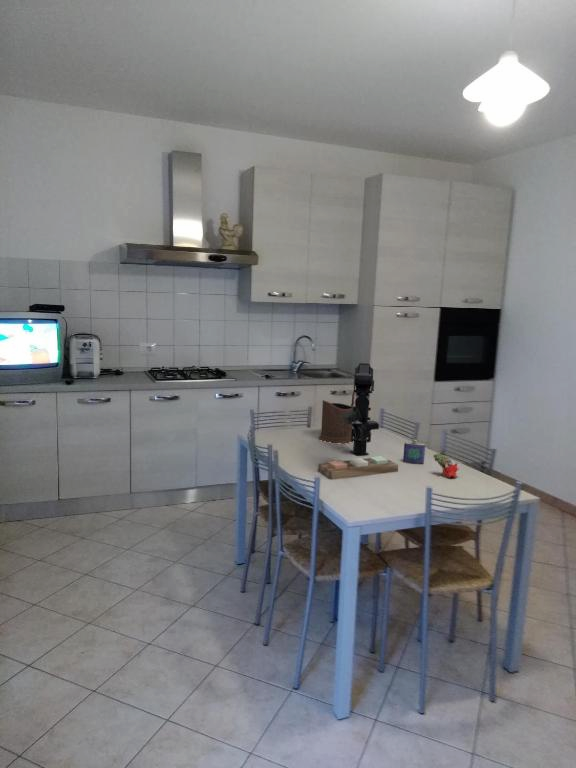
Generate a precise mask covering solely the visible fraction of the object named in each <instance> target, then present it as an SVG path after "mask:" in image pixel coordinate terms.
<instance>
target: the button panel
mask: <svg viewBox="0 0 576 768" xmlns="http://www.w3.org/2000/svg"><path fill="white" fill-rule="evenodd" d="M382 457H383V458H385V459H387V460H388V464H379V465H376V464H374V463H372V462H370V457H366V458H362V459H363V460H365V461H367V462H368V466H362V467H355V466H353V465H351V464H350V459H349V460H341V461H342V462H344V463H346V464H347V468H345V469H337V470H335V469H333V468H331V467H330V466H329V462H324V463H323V462H322V463H321V462H320V463H318V465H317V466H318V469H317V471H318V472H319V473H321V474H323V475H324V476H326V477H327V476H328V477H327V478H329V479H330V478H331V479H330V480H332V479H333V480H339V479H340V478H341V479H347V478H348V479H349V478H356V477H363V476H373V475H381V474H388V472H389V473H395V472H396V471H397V472H399V464H398V463H396V462H394V461H392V460H390V459H388V458H386V457H384V456H382ZM397 472H396V473H397ZM372 474H373V475H372ZM341 479H340V480H341Z"/></svg>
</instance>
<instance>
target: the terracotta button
mask: <svg viewBox="0 0 576 768" xmlns="http://www.w3.org/2000/svg"><path fill="white" fill-rule="evenodd" d="M342 461H343V460H335V461H333V460H332V461H328V463H329V466H330V467H331V468H333V469H335V470H337V469H345V468H347V464H346V463H344V462H342Z"/></svg>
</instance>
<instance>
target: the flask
mask: <svg viewBox="0 0 576 768" xmlns="http://www.w3.org/2000/svg"><path fill="white" fill-rule="evenodd" d="M425 452H426V444H425V443H418V441H417V439H413V441H406V442H404V446H403V455H402V461H403V463H405V462H406V464H415V465H424V464H425V457H426V456H425V455H426V453H425Z"/></svg>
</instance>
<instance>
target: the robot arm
mask: <svg viewBox="0 0 576 768" xmlns="http://www.w3.org/2000/svg"><path fill="white" fill-rule="evenodd" d="M374 389H375V380H374V368H372V367H371V364H370V363H367V362H366V363H365V362H360V363H358V366H356V367H355V368H354V380H353V392H356V394H355V397H354V406H353V408H352V411H349V412H347V413H345V414H343V415H342V419H343V422H344V423H347V424H350V425H351V426H352V427H353V428H352V433H351V441H354V442H353V446H352V447H353V448H352V450H350V453H351V454H353V455H355V456H356V457H357V456H358V455H359V456H368V455H369V452H368V451H367V444H368V443H370V442H371V439H372V432H371V431H374V430H380V423H379V422H378V421H375V420H371V417H370V416H369V411H372V407H370V396H371V395H370V394H373V392H374V391H375V390H374Z"/></svg>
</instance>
